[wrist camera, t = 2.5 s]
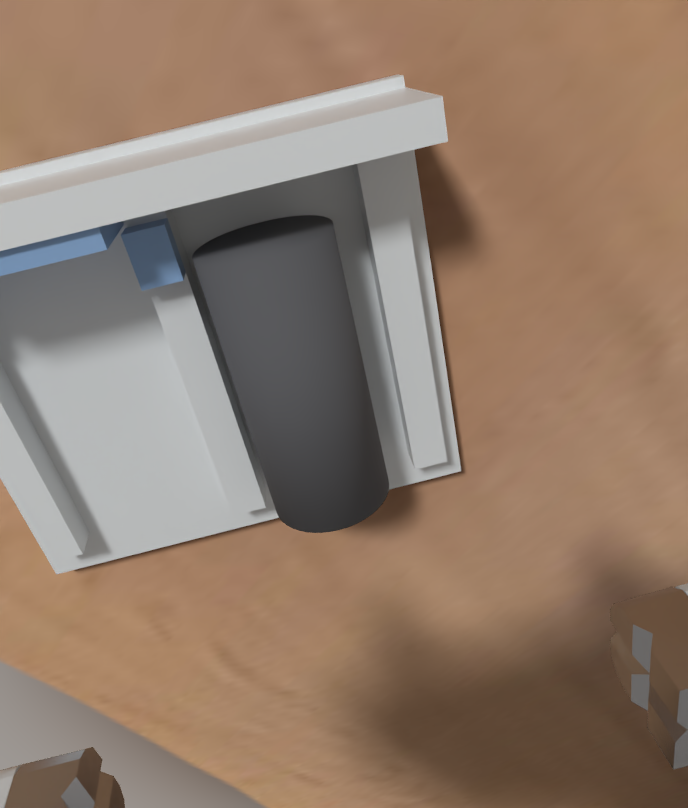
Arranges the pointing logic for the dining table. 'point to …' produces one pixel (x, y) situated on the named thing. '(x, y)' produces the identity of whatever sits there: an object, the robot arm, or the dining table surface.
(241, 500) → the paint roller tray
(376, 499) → the gray roller in tray
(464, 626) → the dining table surface
